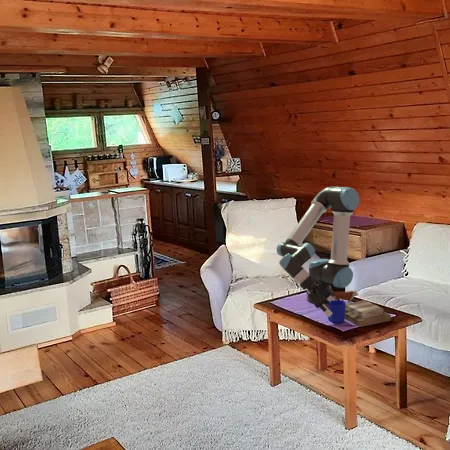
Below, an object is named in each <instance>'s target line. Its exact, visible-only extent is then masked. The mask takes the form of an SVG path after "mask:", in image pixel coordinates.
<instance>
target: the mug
mask: <svg viewBox="0 0 450 450" xmlns="http://www.w3.org/2000/svg"><path fill="white" fill-rule="evenodd" d="M346 304H347V303H346V301H344V300H343V301H342V299H340V300H333V301H330V302H329V303H328V307H327V308H328V309H329V310H330V311H331V312H332V313H333V314H332V315H331V316H330V317H328V316H327V319H328V321H329V322H330V323H331V322H332V323H333V324H342V323H344V322H345V320H346V319H345V305H346Z"/></svg>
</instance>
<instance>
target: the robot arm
mask: <svg viewBox="0 0 450 450" xmlns="http://www.w3.org/2000/svg"><path fill="white" fill-rule="evenodd" d="M310 202H311V203H310V204H311V205H310V206H309V207H308V209H307V210H306V212H305V214H304V215H303V216H302V217H301V219H299V222H298V223H297V224H296V226H295V227H294V229H292V232H291V233H290V234H289V236H288V237H287V239H286V240H285V241H284V242H283V241H282V242H280V243H278V244H277V246H276V254H278V256H280V257H282V258H281V259H280V260H279V263H278V264H279V265H280V267H281V268H282V269H283V270H284V271H285V272H286V273H287V274H288V275H289V276H290V277H291V278H292V279H293V281H294V282H295V283H297V285H299V287H301V288H302V290H303V291H305V293H306V301H307V302H309V303H312V304H313V305H314V307H315V308H316V309H320V310H321V311H322V312H323V313H324V314H325V315H326V316H327V318H328V317H330V316H331V315H332V314H333V313H332V312H331V311H330V310H329V309H328V308H329V307H327V306H326V304H329V302H330V301H333V300H335V298H334V296H333V294H334V292H333V289H332V287H334V288H338V289H345V288H347V287H348V286H349V285H350V284H351V283H352V281H353V277H354V271H353V269H351V268H350V262H349V261H348V250H349V238H350V237H349V236H350V224H351V216H352V215H353V214H354V210H356V209H357V208H358V206H359V203H360V196H359V193H358V191H356V189H355V188H352V187H348V186H334V185H330V186H328V187H325V188H323V189H322V190H320V191H319V192H318V193H317V194H316V195H315V196H314V198H313V199H312V200H311V201H310ZM330 208H331V213H332V214H333V225H332V238H331V239H332V240H331V251H330V259H329V258H319V259H313V260H311V259H312V257H313V256H314V255H315V254H316V250H315V246H314V245H312V244H311V243H308V242H305V243H303V242H304V240H305V239H306V237H307V236H308V234H309V233H310V232H311V230H313V229H312V228H313V227H315V224H316V223H317V221H318V220H319V219H320V218H321V216H322V214H324V213H326V212H327V211H328V209H330ZM302 243H303V244H302ZM309 260H311V261H309ZM308 261H309V263H308V271H307V270H306V269H305V268H304V267H303V265H304V264H305V263H307V262H308Z"/></svg>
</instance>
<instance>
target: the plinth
mask: <svg viewBox="0 0 450 450" xmlns="http://www.w3.org/2000/svg"><path fill="white" fill-rule="evenodd" d="M391 315H392V314H391V313H388V312H387V311H385V310H384V308H382V307H380V306H379V305H376V304H374V303H371V302H370V301H367V300H365V299H363V300H359V301H354V302H353V301H352V303H350V302H349V303H348V302H347V303H346V305H345V320H347V321H349V322H350V323H352V324H354V325H356V326H358V327H360V328H362V327H366V326H371V325H375V324H380V323H385V322H389V321H392V317H391Z"/></svg>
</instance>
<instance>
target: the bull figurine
mask: <svg viewBox="0 0 450 450" xmlns="http://www.w3.org/2000/svg"><path fill="white" fill-rule="evenodd" d="M333 296H334V299H335V300H341V301H344V300H347V304H348V303H353V301H352V300H353V299H354V298H355V297H357V296H359V293H358V291H357V290H356V289H353V290H351V289H350V290H346V291H334V292H333Z"/></svg>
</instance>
